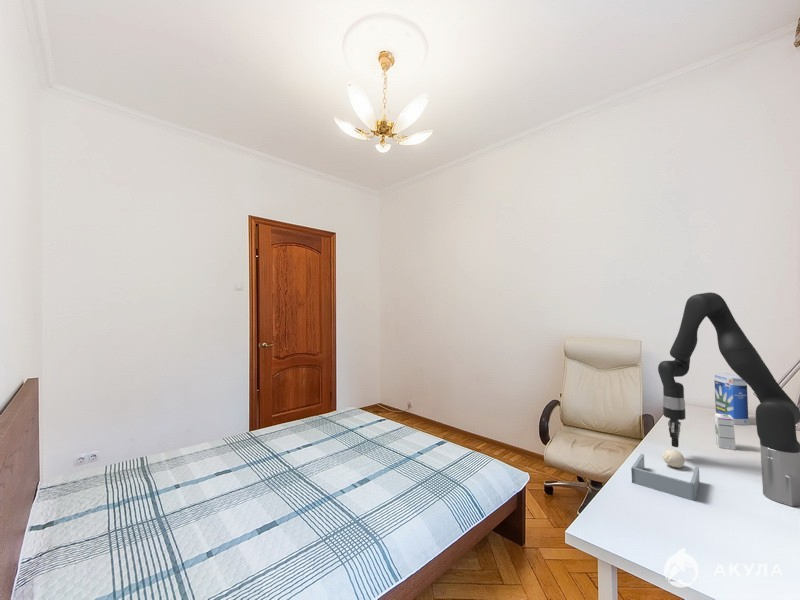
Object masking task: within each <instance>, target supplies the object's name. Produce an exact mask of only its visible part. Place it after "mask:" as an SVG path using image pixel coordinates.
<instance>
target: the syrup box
mask: <svg viewBox="0 0 800 600" xmlns="http://www.w3.org/2000/svg"><path fill="white" fill-rule="evenodd" d="M713 415H714V427H715V428H714V429H715V441H716V445H717V446H718V447H719V448H720V449H724V450H732V451H733V450H734V451H736V437H735V435H736V434H735V425H734V421H733V418H732V417H731V416H730V415H727V414H716V413H714V414H713Z"/></svg>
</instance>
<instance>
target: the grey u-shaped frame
mask: <svg viewBox="0 0 800 600" xmlns="http://www.w3.org/2000/svg"><path fill="white" fill-rule="evenodd" d="M645 466H646V465H645V454H644V453H640V454H639V456H638V458H637V459H636V460H635V462H634V463H633V465H632V466H631V483H633V484H636V485H638V486H643V487H646V488H648V489H649V488H650V489H653V490H657V491H658V492H662V493H666V494H669V495H673V496H676V497H680V498H684V499H686V500H690V501H693V502H696V500H697V499H696V498H697V496H698V489H699V488H700V487H699V486H700V483H701V481H700V468H699V467H698V466H695V467H694V471H693V474H692V476H691V480H690V482H689V481H687V480H682V479H678V478H675V477H672V476H667V475H663V474H660V473H656V472H652V471H649V470H645V469H646V468H645Z"/></svg>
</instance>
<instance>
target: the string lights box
mask: <svg viewBox="0 0 800 600" xmlns="http://www.w3.org/2000/svg"><path fill="white" fill-rule="evenodd" d="M713 375H714V403H715V414H727V415H730V416H731V417H732V418H733V421H734V426H735V425H736V426H749V399H748V398H749V397H748V384H747V383H746V382H745V381H744V380H743V379H742V378H741V377H739V376H738V375H737V374H736V375H735V374H730V373H724V372H722V373H721V372H717V373H716V372H714V374H713Z"/></svg>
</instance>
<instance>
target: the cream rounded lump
mask: <svg viewBox="0 0 800 600" xmlns="http://www.w3.org/2000/svg"><path fill="white" fill-rule="evenodd" d="M662 460H663V461H664V462H665V463H666V464H667V465H668V466H669V467H672V468H676V469H677V468H678V469H679V468H682V467H683V466H684V465H685V462H686V459H685V456H684V455H683V453H681V452H680V451H679V450H675V449H673V448H672V449H666V450H665V451H664V452H663V453H662Z"/></svg>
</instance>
